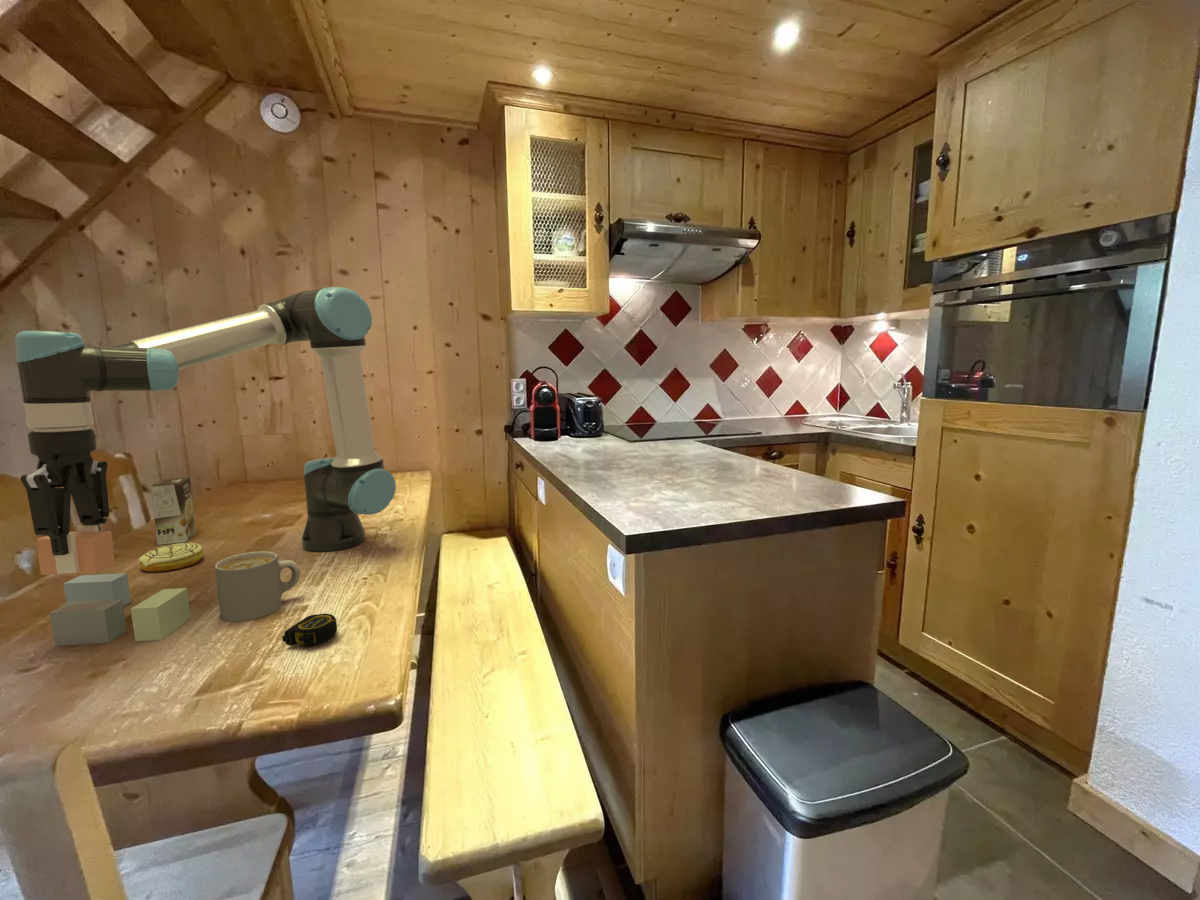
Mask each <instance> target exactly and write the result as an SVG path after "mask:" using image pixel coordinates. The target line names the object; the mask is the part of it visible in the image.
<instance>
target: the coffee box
mask: <svg viewBox="0 0 1200 900" xmlns="http://www.w3.org/2000/svg"><path fill="white" fill-rule="evenodd" d="M191 483H192V482H191V478H190V477H181V478H180V477H179V478H177V477H176V478H170V479H168V478H167V479H166V478H165V479H161V480H159V481H158V482H155V483H154V484H151V485H150V491H151V499H152V500H151V501H152V507H153V509H152V510H153V517H154V525H155V526H154V527H155V535H156V536H155V537H156V541H157V545H158V546H162V545H163V546H164V545H172V544H179V543H187V542H188V541H189V540H190V539H191V538H192V537H193V536H194V535H195V534H196V533H197V532H196V523H195V521H196V520H195V511H194V503H193V501H194V500H193V493H192V484H191Z"/></svg>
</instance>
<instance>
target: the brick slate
mask: <svg viewBox="0 0 1200 900" xmlns="http://www.w3.org/2000/svg"><path fill="white" fill-rule="evenodd" d="M49 617H50V618H49V619H50V623H51V628H52V629H51V630H52V635H53V642H54V643H53V644H54V647H59V646H60V647H63V646H82V645H94V644H95V645H97V644H109V643H111V642H113V641H114V640H116V639H117V638H119V637H120V636H121V635H123V634H124V633H126V632H127V623H126V619H125V618H126V616H125V608H124V606H123V601H122V600H105V601H84V602H70V603H68V604H67V603H65V604H64V605H62V606H60V607H58V608H56V609H54V610H52V611H50V612H49Z"/></svg>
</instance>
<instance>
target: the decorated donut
mask: <svg viewBox="0 0 1200 900" xmlns="http://www.w3.org/2000/svg"><path fill="white" fill-rule="evenodd" d="M203 556H204V549H203V546H202V545H201V544H199V543H196V542H195V543H194V542H183V543H173V544H166V545H163V546H160V547H157V548H153V549H151V550H149V551H148V552H146V553H144V554H143V555H142V556H140V557H139V559H138V560H139V563H140V568H141V570H143V571H145V572H150V573H151V572H152V573H153V572H155V573H156V572H157V573H159V572H165V571H166V572H169V571H173V570H178V569H180V570H181V569H183V568H187V567H189V566H193V565H195V564H197V563H198V562H200V560H201V559H202V557H203Z"/></svg>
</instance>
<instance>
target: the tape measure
mask: <svg viewBox="0 0 1200 900" xmlns="http://www.w3.org/2000/svg"><path fill="white" fill-rule="evenodd" d="M337 632H338V624H337V619H336V616H334V615H333V614H331V613H320V614H319V613H318V614H311V615H308V616H306V617H305V618H303V619H302V620H299V622H296V623H295V624H294V625H292V626H291V627H289V628H287V629H286V630H285V631H284V634H283V635H281V638H282V639H281V641H282V642H284V643H285V644H286V645H287V646H289V647H291V646H300V647H303V648H309V647H310V648H311V647H315V646H319V645H322V644H325V643H327V642H329V641H330V640H332V639H333V638H334V637H335V635H336V634H337Z"/></svg>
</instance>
